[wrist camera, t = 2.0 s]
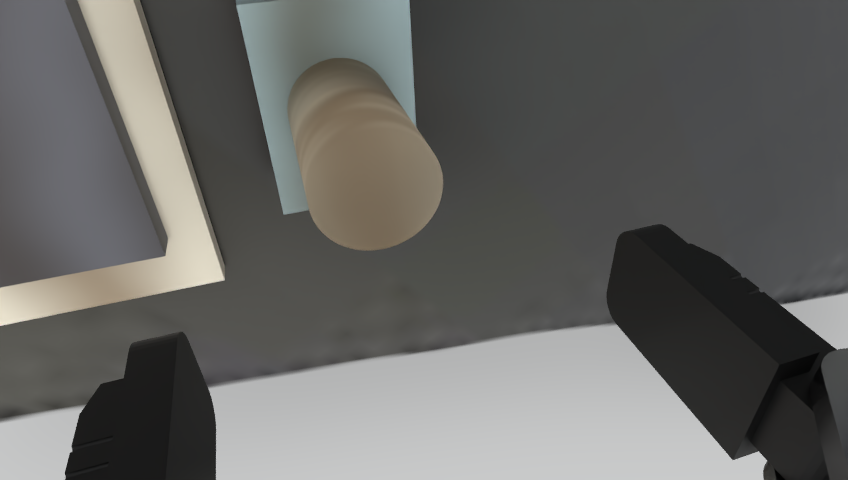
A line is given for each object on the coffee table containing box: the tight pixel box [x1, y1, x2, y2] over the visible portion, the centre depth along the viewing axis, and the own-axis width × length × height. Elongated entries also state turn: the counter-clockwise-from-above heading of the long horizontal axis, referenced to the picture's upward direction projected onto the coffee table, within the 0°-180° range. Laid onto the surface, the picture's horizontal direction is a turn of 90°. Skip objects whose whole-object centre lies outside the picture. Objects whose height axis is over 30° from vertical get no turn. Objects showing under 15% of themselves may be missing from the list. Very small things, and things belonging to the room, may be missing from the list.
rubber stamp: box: [236, 0, 443, 251], centre depth 17 cm, size 5×7×9 cm
